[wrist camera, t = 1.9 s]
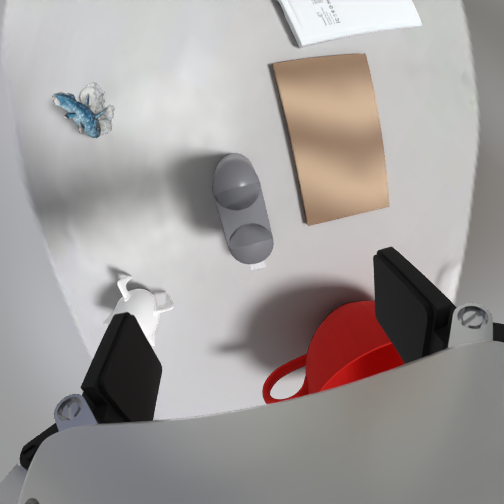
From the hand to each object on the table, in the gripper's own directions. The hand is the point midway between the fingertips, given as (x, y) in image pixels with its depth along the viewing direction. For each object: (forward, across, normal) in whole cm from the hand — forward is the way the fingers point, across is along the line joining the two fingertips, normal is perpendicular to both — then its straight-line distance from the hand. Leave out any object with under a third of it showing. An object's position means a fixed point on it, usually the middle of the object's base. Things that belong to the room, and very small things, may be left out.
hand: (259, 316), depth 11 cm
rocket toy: (+16, +12, +7) cm, 21 cm away
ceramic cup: (+16, -6, +16) cm, 24 cm away
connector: (+16, 0, -1) cm, 16 cm away
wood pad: (+16, -9, -4) cm, 19 cm away
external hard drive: (+16, -13, -17) cm, 27 cm away
